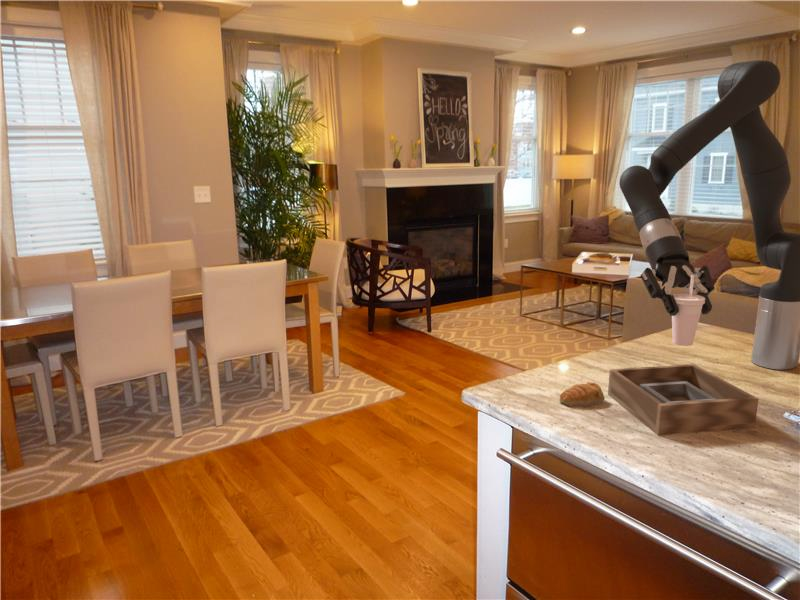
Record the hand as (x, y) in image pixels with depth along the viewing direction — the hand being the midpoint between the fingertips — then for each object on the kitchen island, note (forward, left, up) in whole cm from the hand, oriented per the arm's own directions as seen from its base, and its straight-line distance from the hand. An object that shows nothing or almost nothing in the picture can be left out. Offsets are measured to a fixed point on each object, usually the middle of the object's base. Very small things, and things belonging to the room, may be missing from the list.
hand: (691, 312), depth 114 cm
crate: (0, -2, -21) cm, 21 cm away
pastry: (+17, -9, -22) cm, 29 cm away
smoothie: (0, -2, -7) cm, 7 cm away
